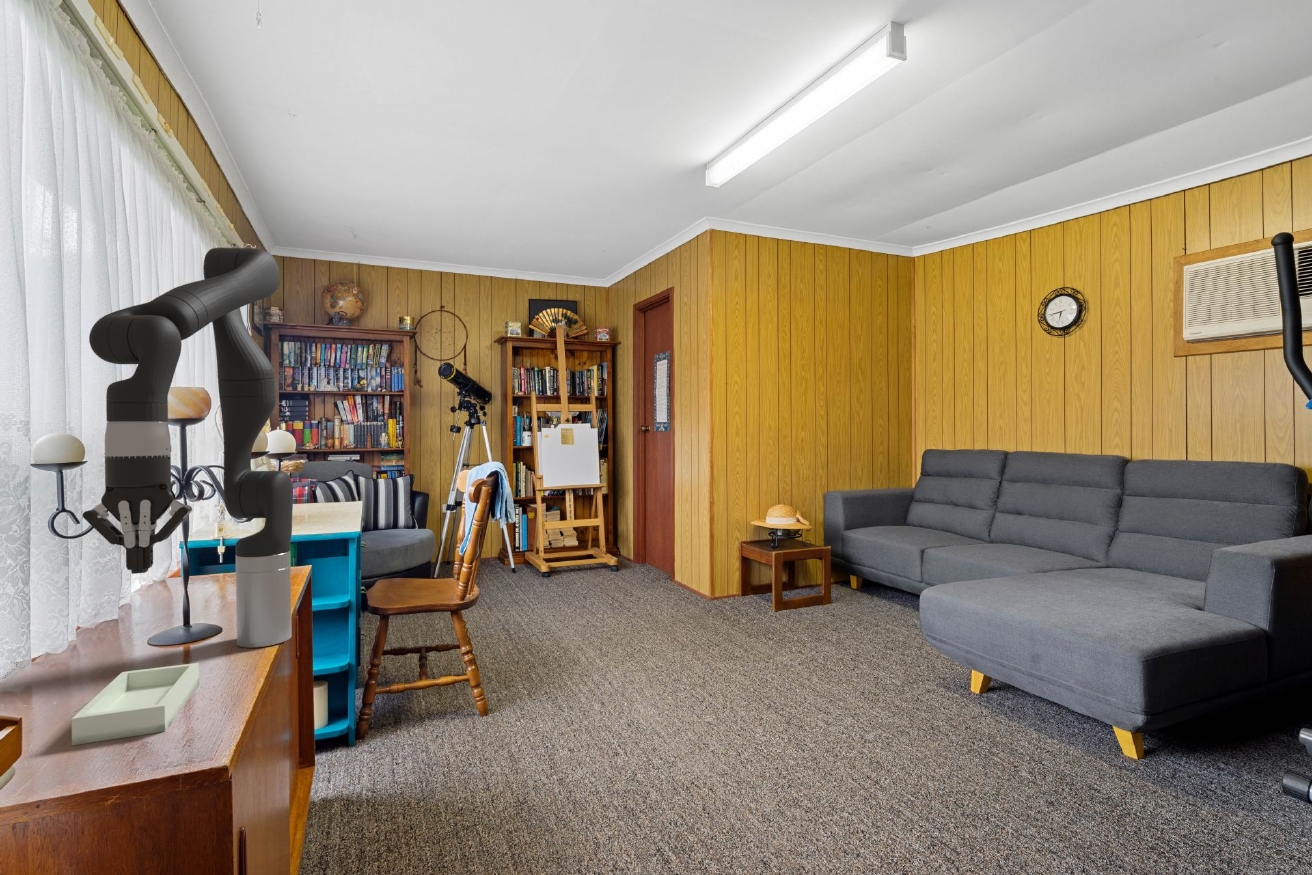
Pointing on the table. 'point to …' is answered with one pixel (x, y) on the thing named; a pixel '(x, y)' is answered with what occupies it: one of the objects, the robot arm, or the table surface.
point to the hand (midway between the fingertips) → (140, 572)
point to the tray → (136, 704)
